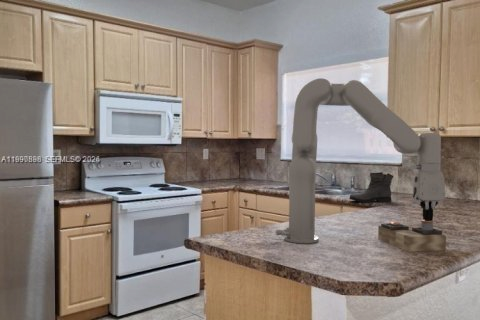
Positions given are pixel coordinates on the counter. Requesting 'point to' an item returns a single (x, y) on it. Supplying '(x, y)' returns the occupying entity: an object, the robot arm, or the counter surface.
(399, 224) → the peg
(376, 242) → the counter surface
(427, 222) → the peg
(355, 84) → the robot arm
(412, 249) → the maple block
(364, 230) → the counter surface
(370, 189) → the boot
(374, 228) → the counter surface
